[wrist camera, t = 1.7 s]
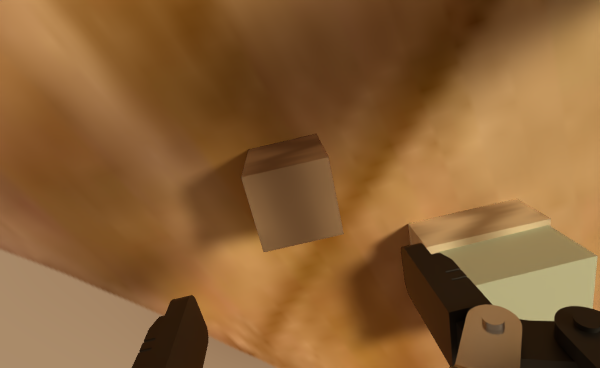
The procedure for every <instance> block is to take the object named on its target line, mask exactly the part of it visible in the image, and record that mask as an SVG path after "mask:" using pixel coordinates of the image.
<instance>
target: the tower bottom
mask: <svg viewBox="0 0 600 368" xmlns="http://www.w3.org/2000/svg"><path fill="white" fill-rule="evenodd" d="M546 225H549V226H551V218H549V217H547V216H546V215H544V214H542V213H541V212H539V211H537V210H535V209H534V208H532V207H530V206H529V205H527V204H525V203H524V202H522V201H520V200H519V199H513V200H509V201H505V202H500V203H496V204H492V205H487V206H483V207H479V208H474V209H470V210H465V211H461V212H457V213H452V214H448V215H444V216H439V217H435V218H431V219H426V220H422V221H418V222H413V223H409V224H408V228H409V236H410V244H411V245H413V244H417V243H422V244H423V245H424V246H425V247H426V248H427V250H428V251H429V252H430V253H431V254H435V253H439V252H440V251H445V250H449V249H453V248H457V247H461V246H465V245H469V244H473V243H477V242H481V241H485V240H489V239H493V238H497V237H501V236H506V235H510V234H514V233H518V232H522V231H526V230H530V229H534V228H538V227H542V226H546Z"/></svg>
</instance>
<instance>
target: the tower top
mask: <svg viewBox="0 0 600 368" xmlns="http://www.w3.org/2000/svg"><path fill="white" fill-rule="evenodd" d="M439 253H441V254H443V255H445V256H447V257H449V258H451V259H452V260H453V261H454V262H455V263H456V264H457V265H458V266H459V268H460V270H462V271H463V272H464V273H465V274H466V275H467V278H469V279H470V280H471V281H472V282H473V283H474V284H475V286H476V287H477V288H478V289H479V290H480V291H481V292H482V293H483V294H484V296H485V297H486V298H487V299H488V300H489V301H490V302H491V303H492V305H496V306H500V307H503V308H505V309H507V310H509V311H511V312H512V313H514V314H515V315H516V316H517V317H518V318H519V319H522V320H533V321H554V316H555V313H556V312H557V311H558V310H559V309H561V308H564V307H568V306H581V307H587V308H591V309H593V298H594V288H595V277H596V267H597V255H595V254H594V253H592V252H591V251H589V250H587V249H586V248H584V247H583V246H581V245H579V244H578V243H576V242H575V241H573V240H571V239H570V238H568V237H567V236H565V235H563V234H562V233H560V232H559V231H557V230H555V229H554V228H552V227H551V226H549V225H546V226H542V227H538V228H534V229H530V230H526V231H522V232H518V233H514V234H510V235H506V236H501V237H497V238H493V239H489V240H485V241H481V242H477V243H473V244H469V245H465V246H461V247H457V248H453V249H449V250H445V251H440V252H439Z"/></svg>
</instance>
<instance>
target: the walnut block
mask: <svg viewBox="0 0 600 368" xmlns="http://www.w3.org/2000/svg"><path fill="white" fill-rule="evenodd" d="M241 179H242V182H243V185H244V189H245V192H246V195H247V199H248V202H249V205H250V209H251V212H252V215H253V218H254V222H255V225H256V228H257V232H258V235H259V238H260V242H261V245H262V248H263V252H267V251H272V250H276V249H280V248H285V247H289V246H294V245H298V244H302V243H307V242H311V241H315V240H320V239H324V238H329V237H333V236H337V235H342V234H344V233H343V228H342V223H341V218H340V213H339V208H338V203H337V198H336V192H335V187H334V182H333V177H332V172H331V167H330V162H329V157H328V155H327V153H326V151H325V149H324V147H323V146H322V144H321V142H320V140H319V138H318V136H317V134H313V135H309V136H305V137H300V138H296V139H292V140H287V141H283V142H279V143H274V144H270V145H266V146H261V147H257V148H253V149H249V150H248V153H247V157H246V161H245V165H244V168H243V172H242V176H241Z"/></svg>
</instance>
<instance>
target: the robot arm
mask: <svg viewBox="0 0 600 368" xmlns="http://www.w3.org/2000/svg"><path fill="white" fill-rule="evenodd" d="M401 255H402V263H403V271H404V279H405V284H406V288H407V291H408V293H409V296H410V298H411V299H412V301H413V303H414V305H415V306H416V308H417V310H418V312H419V313H420V315H421V317H422V319H423V320H424V322H425V324H426V325H427V327H428V329H429V331H430V332H431V334H432V336H433V338H434V339H435V341H436V343H437V344H438V346H439V348H440V350H441V351H442V353H443V355H444V357H445V358H446V360H447V362H448V364H449V365H450V367H449V368H600V311H597V310H594V309H591V308H587V307H581V306H568V307H564V308H561V309H559V310H558V311H557V312H556V313H555V316H554V321H533V320H522V319H519V318H518V317H517V316H516V315H515V314H514V313H512V312H511V311H509V310H507V309H505V308H503V307H500V306H496V305H492V303H491V302H490V301H489V300H488V299H487V298H486V297H485V296H484V294H483V293H482V292H481V291H480V290H479V289H478V288H477V287H476V286H475V284H474V283H473V282H472V281H471V280H470V279H469V278H467V275H466V274H465V273H464V272H463V271H462V270H460V268H459V266H458V265H457V264H456V263H455V262H454V261H453V260H452V259H451V258H449V257H447V256H445V255H443V254H441V253H435V254H431V253H430V252H429V251H428V250H427V248H426V247H425V246H424V245H423V244H422V243H417V244H413V245H408V246H404V247H402V248H401ZM207 346H208V330H207V326H206V324H205V321H204V319H203V316H202V314H201V311H200V309H199V306H198V304H197V301H196V299H195V297H194V296H193V295H191V296H186V297H182V298H178V299H173V300H171V302H170V304H169V306H168V309H167V311H166V314H165V316H161V317H159V318H158V319H157V320H156V321H155V322H154V324H153V325H152V326H151V327H150V328H149V330H148V333H147V335H146V337H145V339H144V343H143V344H142V346H141V348H140V353H138V355H137V357H136V360H135V362H134V364H133V366H132V368H203V364H204V359H205V355H206V350H207Z"/></svg>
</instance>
